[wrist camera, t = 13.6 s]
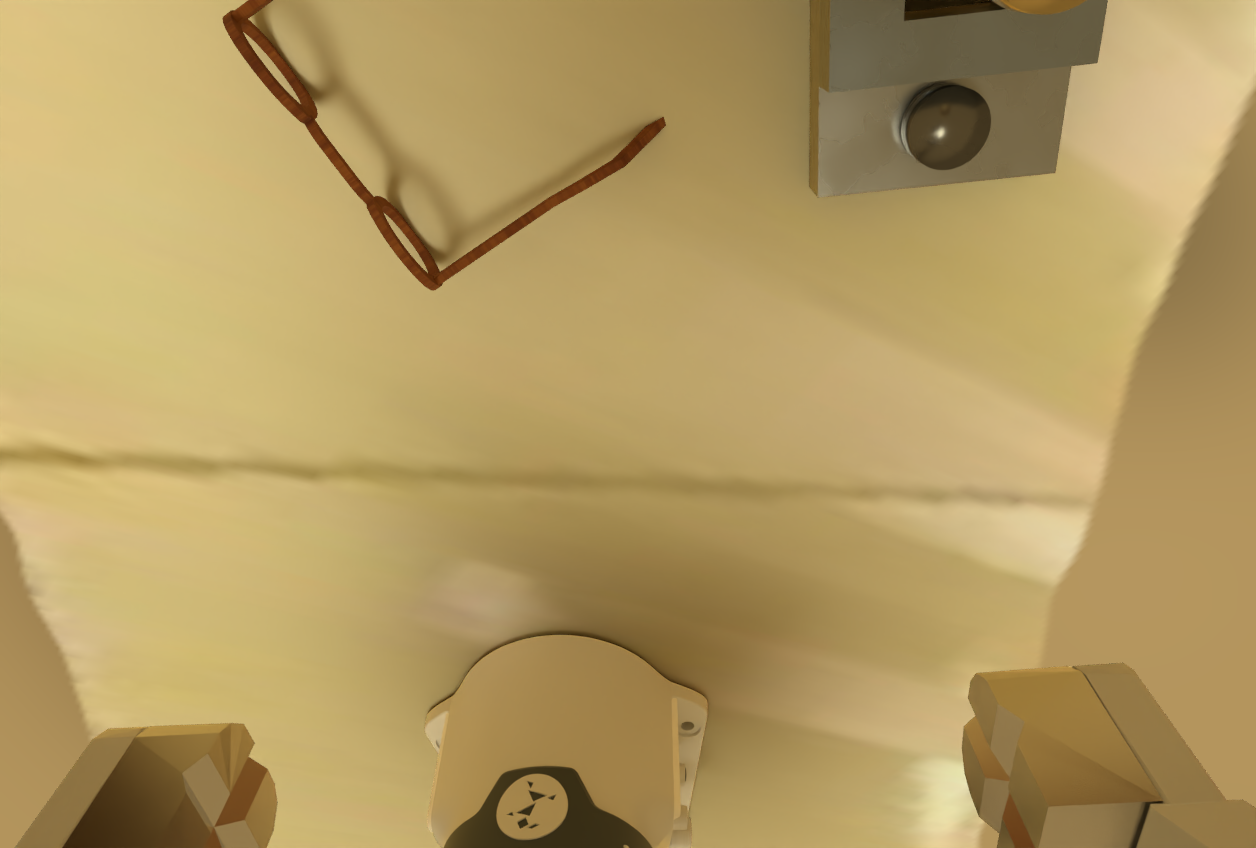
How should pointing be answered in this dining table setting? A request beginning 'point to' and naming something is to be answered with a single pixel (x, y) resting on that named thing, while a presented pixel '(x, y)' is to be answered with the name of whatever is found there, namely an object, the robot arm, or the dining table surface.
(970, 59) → the metal plate with knobs
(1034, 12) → the pin
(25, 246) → the dining table surface
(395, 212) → the glasses
